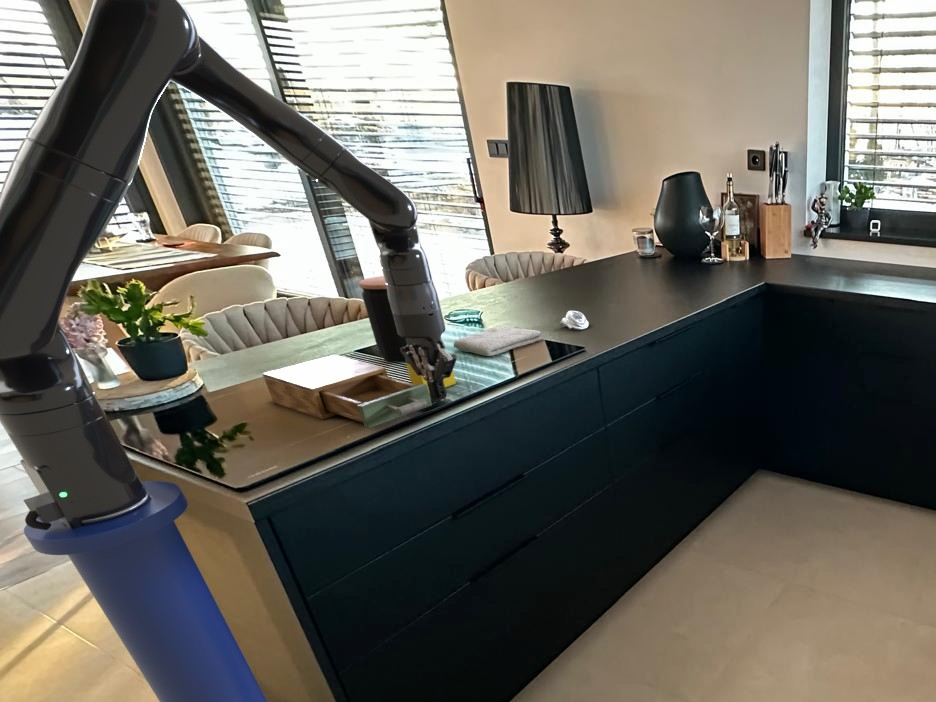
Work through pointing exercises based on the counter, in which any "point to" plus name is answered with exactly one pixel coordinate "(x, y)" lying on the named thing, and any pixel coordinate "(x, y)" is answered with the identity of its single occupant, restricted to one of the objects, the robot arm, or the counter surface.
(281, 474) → the counter surface
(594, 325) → the counter surface
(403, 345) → the coffee jar
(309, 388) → the cabinet
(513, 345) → the washcloth
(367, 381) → the drawer
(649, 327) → the counter surface
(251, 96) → the robot arm
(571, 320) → the whipped cream
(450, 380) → the sponge
